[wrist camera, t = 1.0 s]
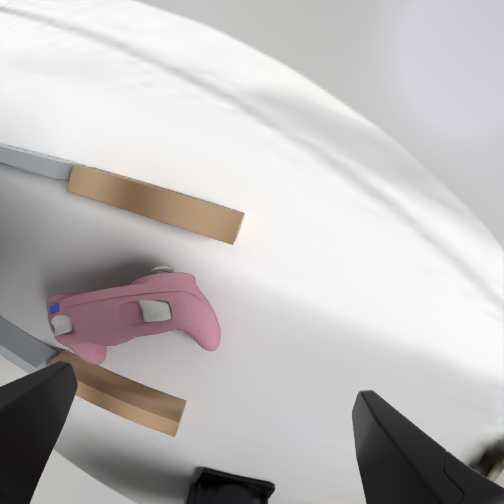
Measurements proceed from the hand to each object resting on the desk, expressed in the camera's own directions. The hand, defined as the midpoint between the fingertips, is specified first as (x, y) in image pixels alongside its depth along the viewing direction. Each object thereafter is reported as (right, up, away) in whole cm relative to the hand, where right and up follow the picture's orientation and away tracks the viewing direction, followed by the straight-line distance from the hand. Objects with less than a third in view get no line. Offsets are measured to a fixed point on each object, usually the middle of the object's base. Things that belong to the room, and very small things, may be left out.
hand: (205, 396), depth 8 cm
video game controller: (-6, +1, +11) cm, 12 cm away
